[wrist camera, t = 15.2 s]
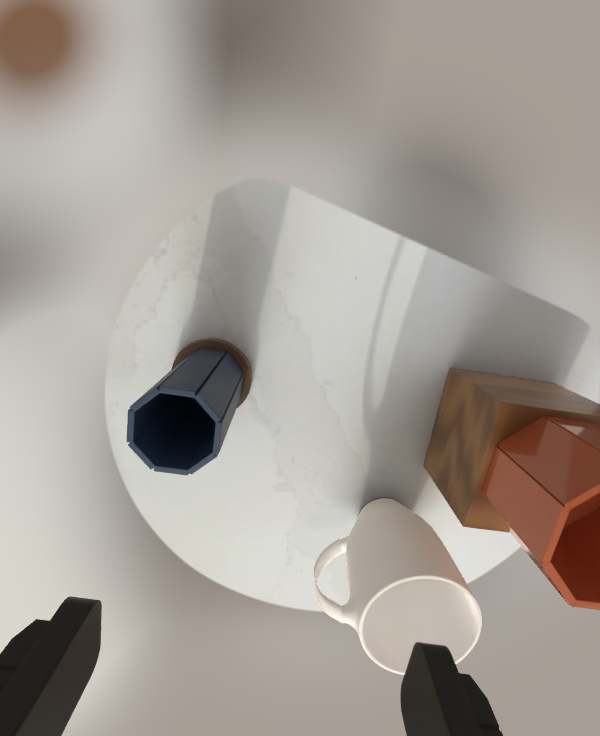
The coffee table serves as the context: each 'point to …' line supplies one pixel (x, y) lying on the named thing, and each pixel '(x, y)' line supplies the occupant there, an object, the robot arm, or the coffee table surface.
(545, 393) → the riser
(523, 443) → the terracotta cup
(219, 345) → the coaster
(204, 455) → the slate cup
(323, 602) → the mug
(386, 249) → the coffee table surface
